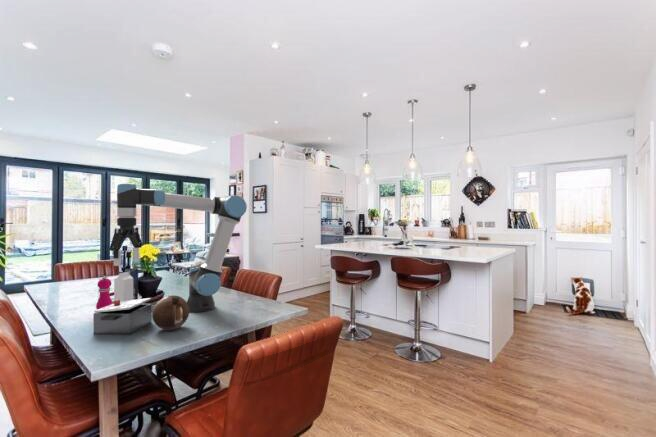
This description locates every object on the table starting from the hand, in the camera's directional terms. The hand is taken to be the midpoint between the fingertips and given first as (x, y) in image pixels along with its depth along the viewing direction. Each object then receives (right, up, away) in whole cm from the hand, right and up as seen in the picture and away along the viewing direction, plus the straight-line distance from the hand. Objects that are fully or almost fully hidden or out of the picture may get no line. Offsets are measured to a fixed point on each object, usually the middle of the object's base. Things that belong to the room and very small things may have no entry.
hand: (127, 263), depth 150 cm
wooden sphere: (+21, -30, -2) cm, 37 cm away
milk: (-13, -29, +18) cm, 37 cm away
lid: (0, -19, -1) cm, 19 cm away
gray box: (0, -29, -1) cm, 29 cm away
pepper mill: (-24, -29, +19) cm, 42 cm away
